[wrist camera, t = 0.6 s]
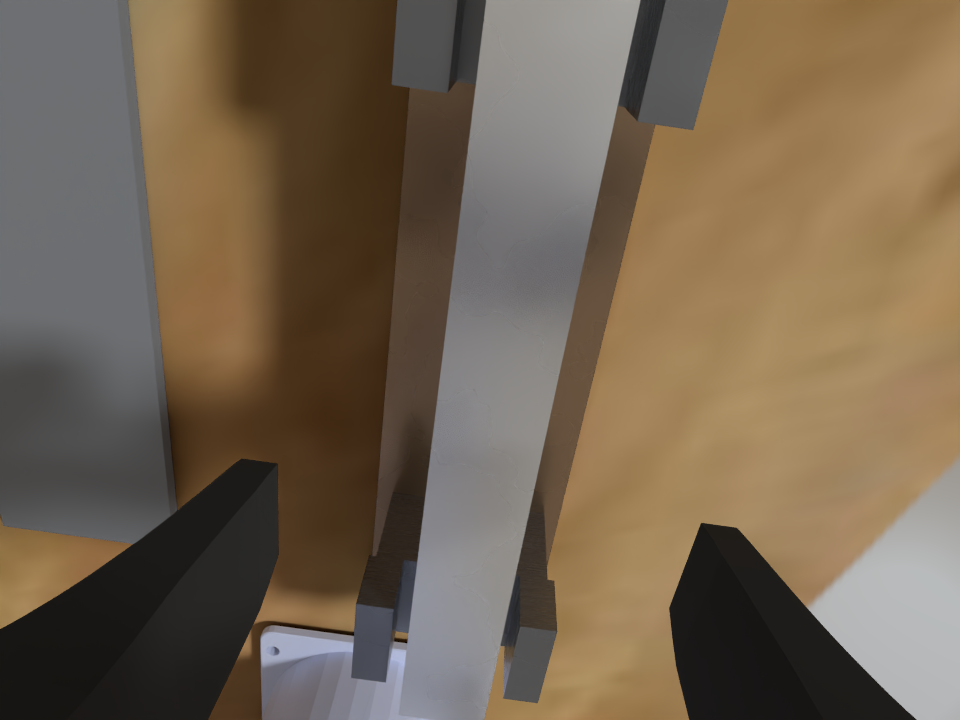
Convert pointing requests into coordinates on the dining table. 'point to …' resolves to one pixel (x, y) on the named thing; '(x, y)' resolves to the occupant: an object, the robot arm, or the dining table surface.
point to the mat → (77, 281)
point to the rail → (508, 325)
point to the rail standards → (427, 285)
